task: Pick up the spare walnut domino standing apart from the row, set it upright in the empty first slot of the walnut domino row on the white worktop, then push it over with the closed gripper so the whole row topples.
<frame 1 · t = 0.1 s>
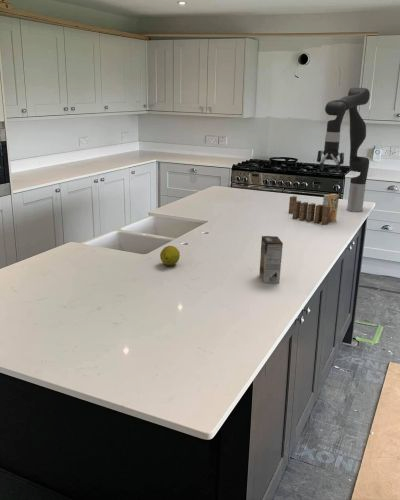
hand: (329, 171, 277), 29 cm above the counter, tool pointing down, fingers open, 8 cm apart
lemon: (169, 265, 211), on the counter
domino 2: (296, 218, 295), on the counter
domino 4: (310, 221, 290), on the counter
coffee box: (269, 279, 199), on the counter
candy box: (328, 221, 291), on the counter
domino 3: (303, 219, 292), on the counter
domino 1: (292, 213, 308), on the counter
domino 6: (325, 224, 284), on the counter
domino 5: (317, 222, 287), on the counter
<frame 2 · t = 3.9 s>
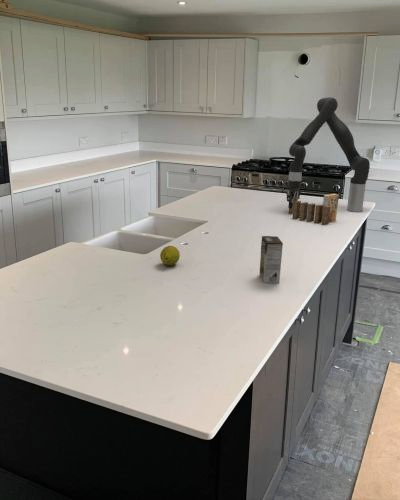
hand: (292, 207, 307), 3 cm above the counter, tool pointing down, fingers closed on domino 1, 5 cm apart
domino 1: (292, 213, 308), on the counter, touching gripper
everything else where it was.
when the fingers open (4 cm above the counter, at t = 9.4 s): domino 1 stays where it is, on the counter.
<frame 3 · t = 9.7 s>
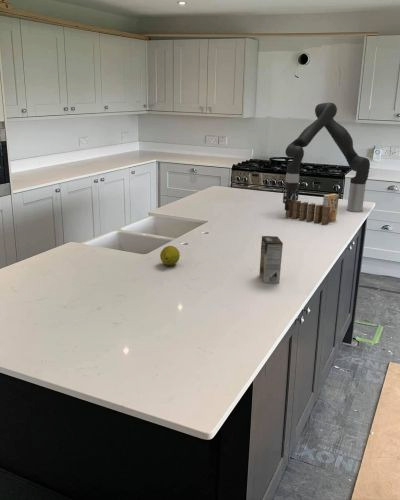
hand: (289, 209, 296), 5 cm above the counter, tool pointing down, fingers open, 7 cm apart
domino 1: (289, 217, 298), on the counter
everything else where it was.
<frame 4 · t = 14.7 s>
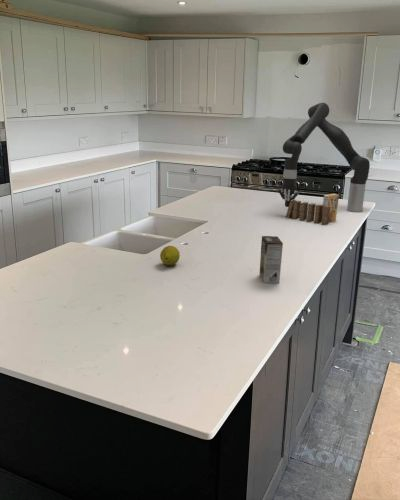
hand: (287, 206, 297), 6 cm above the counter, tool pointing down, fingers closed
domino 1: (289, 216, 297), on the counter, tilted 13°
everything else where it was.
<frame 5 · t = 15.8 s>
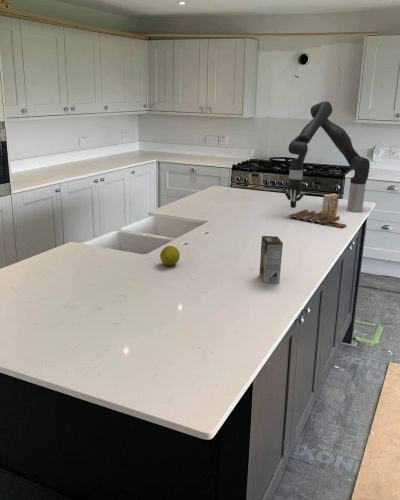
hand: (293, 207, 295), 6 cm above the counter, tool pointing down, fingers closed
domino 2: (298, 217, 294), point 1 cm above the counter, tilted 64°, touching domino 1, domino 3
domino 4: (313, 220, 288), point 1 cm above the counter, tilted 60°
domino 3: (306, 219, 291), point 1 cm above the counter, tilted 61°, touching domino 2
domino 1: (291, 216, 296), point 1 cm above the counter, tilted 64°, touching domino 2
domino 6: (327, 223, 284), on the counter, tilted 90°, touching domino 5
domino 5: (321, 221, 285), point 1 cm above the counter, tilted 72°, touching domino 6
everything else where it was.
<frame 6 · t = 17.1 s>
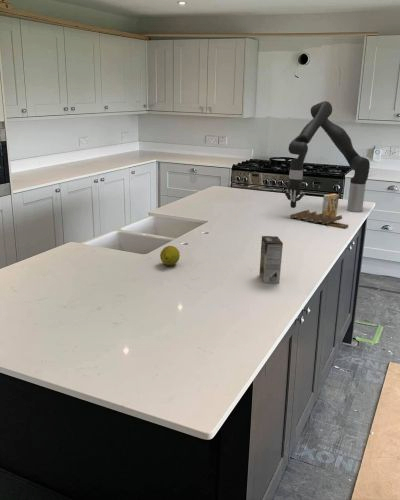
hand: (293, 207, 294), 6 cm above the counter, tool pointing down, fingers closed
domino 4: (315, 220, 287), point 1 cm above the counter, tilted 65°, touching domino 3, domino 5
domino 3: (307, 219, 290), point 1 cm above the counter, tilted 65°, touching domino 2, domino 4
domino 6: (329, 224, 283), on the counter, tilted 90°, touching domino 5
domino 5: (323, 222, 285), point 1 cm above the counter, tilted 66°, touching domino 4, domino 6
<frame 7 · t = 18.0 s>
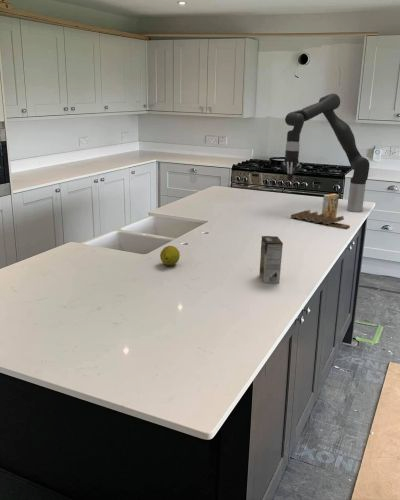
hand: (290, 180, 294), 21 cm above the counter, tool pointing down, fingers closed
domino 5: (325, 222, 284), point 1 cm above the counter, tilted 67°, touching domino 4, domino 6
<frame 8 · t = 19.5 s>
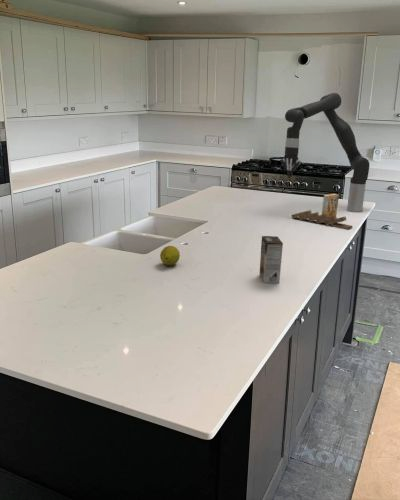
hand: (289, 176, 294), 23 cm above the counter, tool pointing down, fingers closed
domino 2: (301, 217, 293), point 1 cm above the counter, tilted 68°, touching domino 3
domino 4: (318, 221, 287), point 1 cm above the counter, tilted 67°, touching domino 3, domino 5
domino 3: (310, 219, 289), point 1 cm above the counter, tilted 67°, touching domino 2, domino 4
domino 1: (294, 216, 296), point 1 cm above the counter, tilted 68°
domino 6: (333, 225, 282), on the counter, tilted 90°, touching domino 5
domino 5: (327, 222, 283), point 1 cm above the counter, tilted 67°, touching domino 4, domino 6
everything else where it was.
at the end: domino 6 tilted 90°; domino 1 inside the target area (1.9 cm from its centre), point 1.1 cm above the counter; domino 1 tilted 68° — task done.
